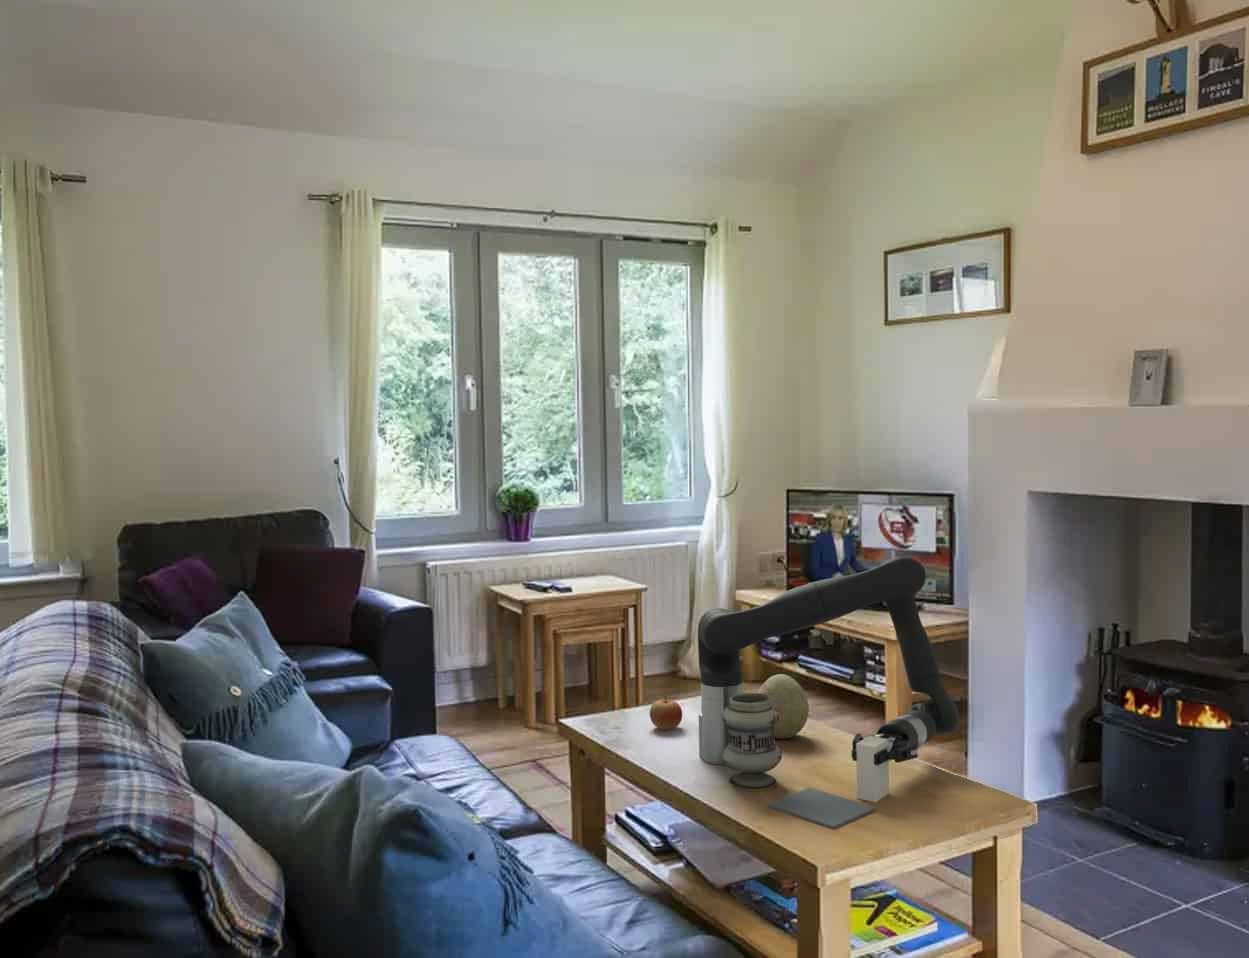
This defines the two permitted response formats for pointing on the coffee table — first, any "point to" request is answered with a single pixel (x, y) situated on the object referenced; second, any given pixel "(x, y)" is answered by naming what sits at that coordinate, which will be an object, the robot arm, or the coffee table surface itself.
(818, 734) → the coffee table surface
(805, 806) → the mat
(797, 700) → the fossilized egg
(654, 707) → the apple
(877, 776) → the tall cream pillar block
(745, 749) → the apothecary jar
